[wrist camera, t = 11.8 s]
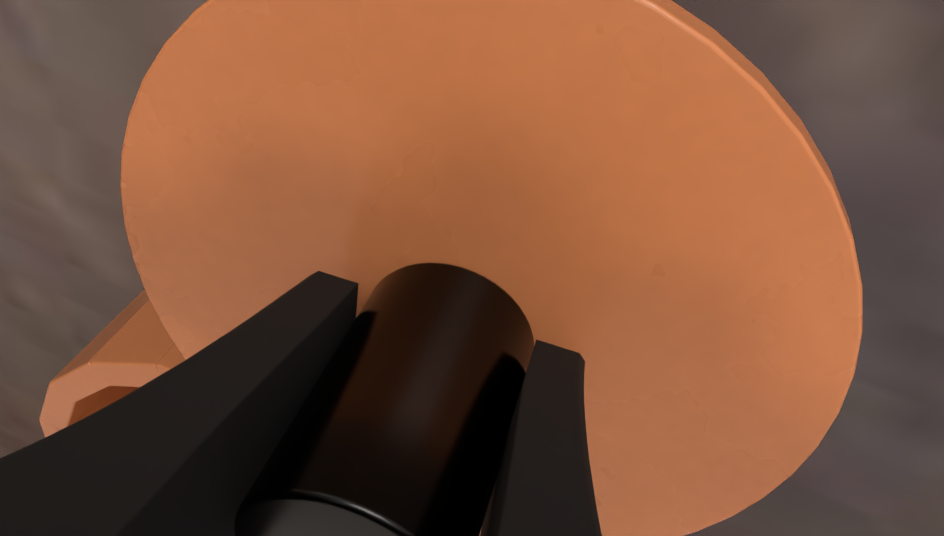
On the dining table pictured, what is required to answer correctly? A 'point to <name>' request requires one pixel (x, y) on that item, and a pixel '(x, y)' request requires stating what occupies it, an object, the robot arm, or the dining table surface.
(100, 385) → the orange pot
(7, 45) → the dining table surface
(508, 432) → the robot arm
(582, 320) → the orange pot lid
